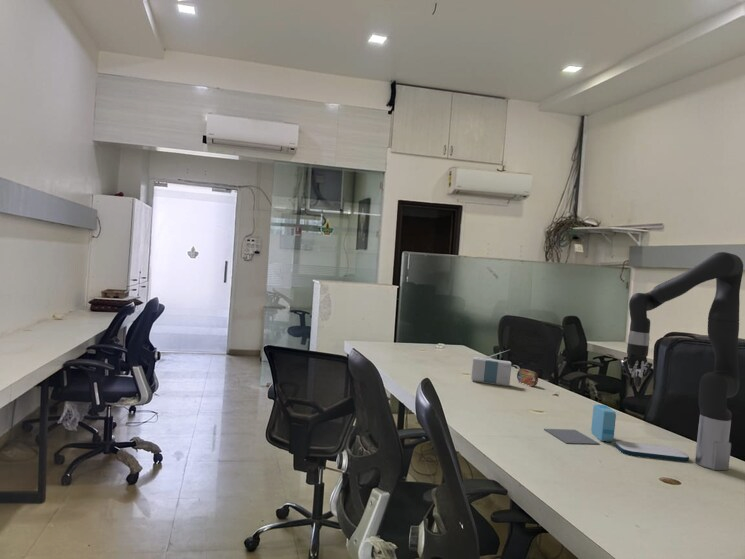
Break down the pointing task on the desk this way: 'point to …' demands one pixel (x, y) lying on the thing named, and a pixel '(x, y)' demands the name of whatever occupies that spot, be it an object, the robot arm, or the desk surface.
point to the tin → (527, 377)
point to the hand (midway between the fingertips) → (633, 386)
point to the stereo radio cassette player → (491, 371)
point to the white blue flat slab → (651, 451)
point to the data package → (603, 423)
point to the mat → (571, 436)
